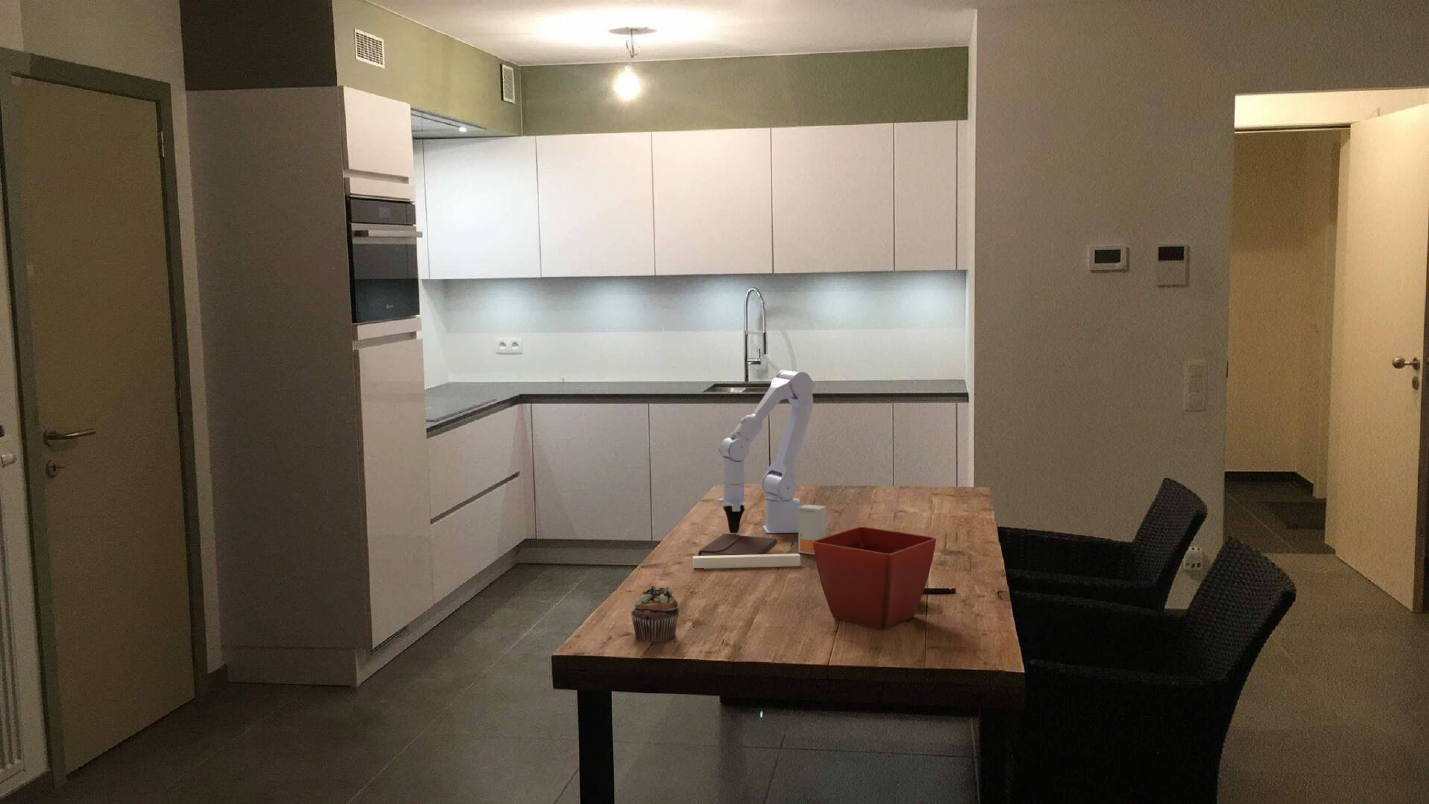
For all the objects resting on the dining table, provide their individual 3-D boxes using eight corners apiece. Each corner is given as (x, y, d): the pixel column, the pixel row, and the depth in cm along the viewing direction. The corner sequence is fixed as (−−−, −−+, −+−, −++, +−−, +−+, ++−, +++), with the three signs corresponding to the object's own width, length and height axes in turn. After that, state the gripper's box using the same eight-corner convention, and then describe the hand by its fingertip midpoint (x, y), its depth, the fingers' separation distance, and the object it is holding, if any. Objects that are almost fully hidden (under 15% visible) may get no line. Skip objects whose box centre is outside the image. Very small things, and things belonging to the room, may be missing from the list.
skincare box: (797, 553, 316) (797, 506, 315) (804, 549, 320) (804, 503, 319) (819, 555, 314) (820, 509, 312) (826, 552, 317) (826, 506, 316)
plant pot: (860, 600, 274) (860, 524, 272) (937, 615, 262) (938, 537, 260) (810, 620, 259) (810, 540, 257) (889, 637, 247) (890, 554, 245)
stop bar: (798, 564, 306) (798, 553, 305) (800, 566, 304) (800, 555, 303) (693, 566, 303) (692, 556, 303) (693, 568, 301) (693, 558, 301)
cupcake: (678, 628, 254) (678, 580, 253) (679, 643, 245) (678, 593, 243) (631, 629, 254) (631, 581, 253) (630, 644, 244) (629, 594, 243)
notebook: (777, 544, 328) (777, 536, 328) (755, 562, 310) (755, 554, 309) (722, 540, 333) (722, 533, 333) (698, 557, 314) (698, 549, 314)
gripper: (716, 478, 341) (716, 526, 342) (721, 488, 326) (721, 538, 328) (742, 477, 341) (742, 526, 343) (747, 487, 327) (748, 538, 328)
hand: (733, 532), depth 335 cm, fingers closed
